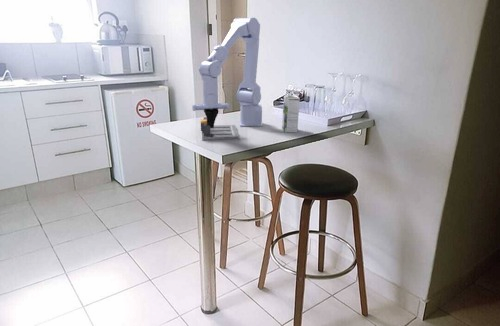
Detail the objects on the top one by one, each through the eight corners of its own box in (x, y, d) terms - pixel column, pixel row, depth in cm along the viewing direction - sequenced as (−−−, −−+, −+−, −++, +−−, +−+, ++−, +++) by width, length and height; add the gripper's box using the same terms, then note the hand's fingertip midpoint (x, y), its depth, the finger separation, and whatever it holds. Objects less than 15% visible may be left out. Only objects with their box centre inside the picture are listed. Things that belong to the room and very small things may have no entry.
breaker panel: (234, 127, 155) (234, 115, 153) (239, 139, 138) (239, 126, 136) (202, 128, 153) (201, 116, 151) (202, 140, 136) (201, 126, 135)
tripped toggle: (207, 129, 146) (206, 119, 145) (207, 131, 143) (206, 121, 142) (201, 129, 146) (200, 119, 144) (201, 131, 143) (200, 121, 141)
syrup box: (281, 128, 154) (283, 94, 149) (295, 128, 154) (297, 94, 149) (283, 132, 148) (285, 97, 144) (298, 132, 149) (300, 97, 144)
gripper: (226, 91, 145) (226, 124, 150) (190, 92, 141) (191, 126, 146) (230, 93, 139) (230, 128, 144) (193, 95, 135) (194, 130, 139)
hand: (211, 127), depth 144 cm, fingers closed
